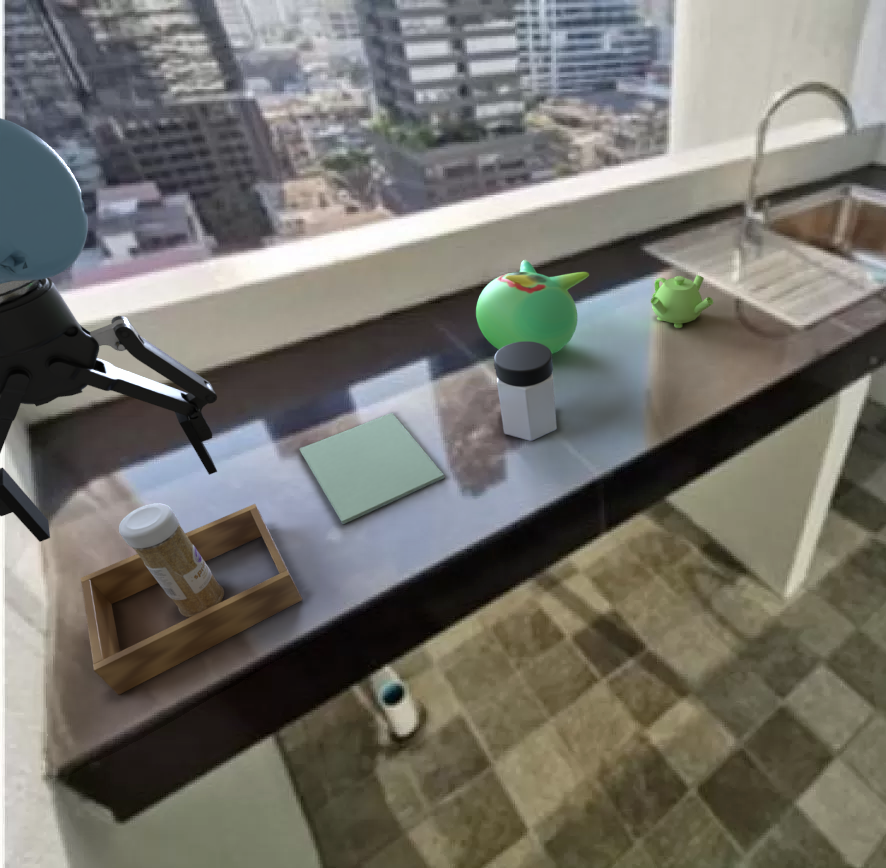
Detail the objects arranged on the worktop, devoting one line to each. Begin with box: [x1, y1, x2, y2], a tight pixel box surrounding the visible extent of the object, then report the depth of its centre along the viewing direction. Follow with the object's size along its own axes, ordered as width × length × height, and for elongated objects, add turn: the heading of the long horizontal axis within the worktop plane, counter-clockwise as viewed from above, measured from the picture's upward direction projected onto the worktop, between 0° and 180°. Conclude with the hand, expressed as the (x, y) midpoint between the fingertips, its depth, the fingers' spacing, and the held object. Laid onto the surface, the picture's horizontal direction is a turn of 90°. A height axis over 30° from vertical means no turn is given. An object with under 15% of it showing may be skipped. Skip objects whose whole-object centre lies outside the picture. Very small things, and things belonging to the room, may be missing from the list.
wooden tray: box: [80, 503, 303, 696], centre depth 66 cm, size 18×14×4 cm
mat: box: [299, 412, 445, 525], centre depth 85 cm, size 18×14×1 cm
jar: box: [493, 341, 558, 442], centre depth 88 cm, size 9×8×12 cm
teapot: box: [650, 274, 714, 329], centre depth 115 cm, size 11×12×8 cm
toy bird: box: [475, 259, 590, 355], centre depth 104 cm, size 18×17×15 cm
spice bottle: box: [118, 502, 225, 618], centre depth 63 cm, size 5×5×14 cm
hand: (132, 497), depth 57 cm, fingers open, 13 cm apart
